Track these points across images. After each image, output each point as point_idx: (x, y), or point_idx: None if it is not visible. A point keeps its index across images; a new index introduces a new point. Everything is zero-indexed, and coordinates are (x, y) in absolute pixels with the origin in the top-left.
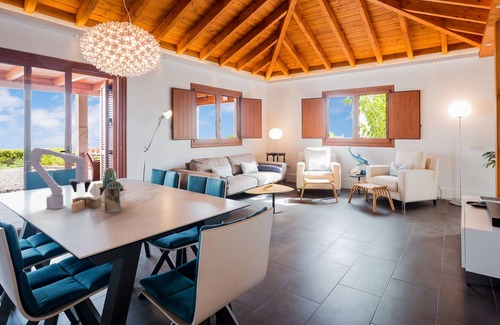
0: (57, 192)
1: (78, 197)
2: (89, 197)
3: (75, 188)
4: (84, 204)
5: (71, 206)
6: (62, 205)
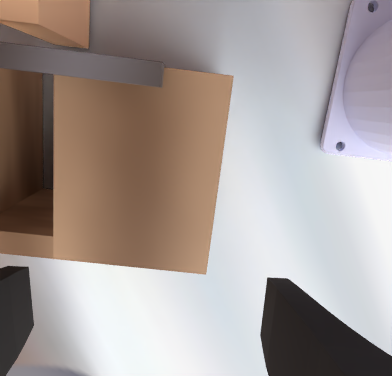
0: None
1: (187, 214)
2: (14, 231)
3: (294, 372)
4: (30, 34)
5: None
6: (355, 76)
